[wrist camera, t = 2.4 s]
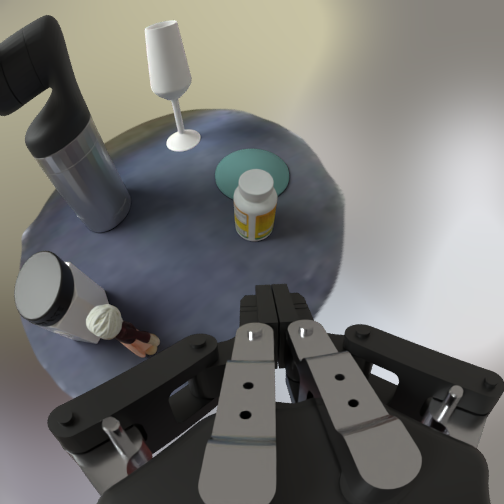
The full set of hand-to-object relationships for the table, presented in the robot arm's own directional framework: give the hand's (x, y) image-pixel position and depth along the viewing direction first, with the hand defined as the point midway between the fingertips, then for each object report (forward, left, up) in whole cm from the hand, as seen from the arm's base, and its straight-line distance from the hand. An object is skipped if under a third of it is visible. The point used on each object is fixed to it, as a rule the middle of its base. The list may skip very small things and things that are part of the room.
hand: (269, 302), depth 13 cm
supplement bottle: (-7, +16, -20) cm, 27 cm away
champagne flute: (-27, +29, -20) cm, 44 cm away
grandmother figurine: (-13, -5, -20) cm, 25 cm away
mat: (-11, +25, -20) cm, 34 cm away
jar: (-23, -6, -20) cm, 31 cm away
